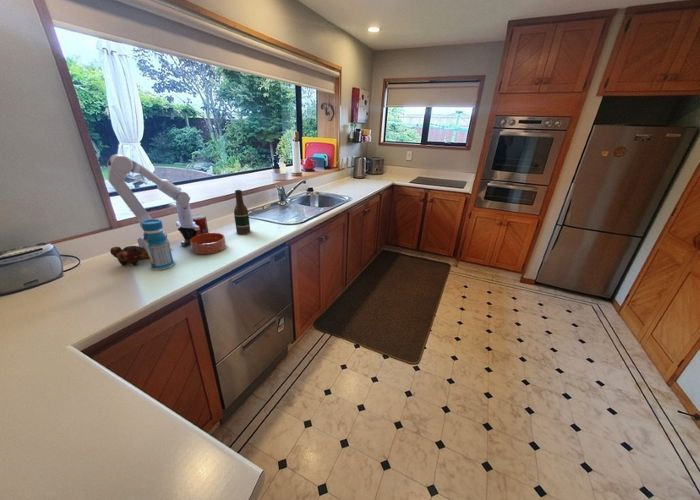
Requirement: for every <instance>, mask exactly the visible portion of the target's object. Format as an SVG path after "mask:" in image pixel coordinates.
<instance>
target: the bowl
mask: <svg viewBox="0 0 700 500" xmlns="http://www.w3.org/2000/svg"><path fill="white" fill-rule="evenodd" d="M190 243H191V245H190V247H191V251H192V252H193V253H194V254H197V255H212V254H216V253H219V252H222V250H224V249H225V248H226V247H227V242H226V238H225V235H224V234H222V233H219V232H209V233H205V234H200V235H197V236H194V237H193V238H191V239H190Z"/></svg>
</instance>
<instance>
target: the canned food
mask: <svg viewBox="0 0 700 500" xmlns="http://www.w3.org/2000/svg"><path fill="white" fill-rule="evenodd" d="M192 219H193V222H195V224H196V225H198V226H199V229H200V230H198V231H197V234H196V236H197V235H200V234H205V233H210V232H209V226H208V221H207V216H206V215H205V214H202V213H199V214H192Z"/></svg>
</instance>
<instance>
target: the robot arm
mask: <svg viewBox="0 0 700 500" xmlns="http://www.w3.org/2000/svg"><path fill="white" fill-rule="evenodd" d="M129 173H132V174H138V175H141V176H142V177H143V178H145V179H147V180H148V181H150V182H152V183H153V184H155V185H156V188H157V190H159V191H160V192H161V193H163V194H165V195H166V196H168V197H169V198H171V199H172V200H173V201H175V206H176V212H177V217H178V221H175V222H174V223H175V226H176V227H178V228H177V231H178V232H179V233H180V234H181V235H182V237H183V240H187V239H191V238H193V237H194V236H196V234H197V231H198V230H200V229H199V226H198V225H196V224H195V222H193V219H192V215H193V214H192V209H191V205H190V201H191V197H190V195H189V194H188V193H187V192H186V191H184V190H183V189H182V188H181V187H178V186H176V184H174V183H173V181H172V180H170V179H169V180H168V179H166V178H165V179H163V178H161V177H159V176H158V175H156V174H155V173H154V172H152V171H150V170H149V169H148V168H147V167H145V166H144V165H143V164H141V163H138V162H137V161H134V160H132V159H131V158H129V157H128V156H126V155H124V154H120V153H114V154H112V155H111V156H110V157H109V159H108V161H107V181H108V182H109V184H110V185H111V187H112V188H113V189H114V191H116V193H117V194H118V195H119V197H120V198H121V199H122V201H123V203H125V204H126V206H127V207H128V209H130V211H131V212H132V214H133V215H134V216H135V217H136V219H137V221H138V222H139V226H140V228H141V229H142V230H143V228H142V224H141V223H142V222H143V221H146V220H151V219H153V217H152V216H151V215H150V214H149V213H148V211H147V210H146V208H145V207H144V206H143V205H142V203H141V201H140V200H139V199H138V197H137V196H136V195H135V193H134V192H133V191H132V189H131V188H130V187H129V186H128V184H127V183H126V179H127V176H128V175H129ZM144 234H145V231H144V230H143V233H142V236H141V237H139V238H138V239H137V244H138V246H139V247H142V248H144V249H145V250H146V251H147V248H146V247H145V241H144V239H143V237H144ZM170 250H172V249H171V248H170ZM147 253H148V252H147Z"/></svg>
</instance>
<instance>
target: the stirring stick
mask: <svg viewBox="0 0 700 500" xmlns="http://www.w3.org/2000/svg"><path fill="white" fill-rule="evenodd" d="M180 245H181V247H183V248H186V247H189V246H191V243H190V239H187V240H185V239H183V240H182V241H180Z"/></svg>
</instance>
